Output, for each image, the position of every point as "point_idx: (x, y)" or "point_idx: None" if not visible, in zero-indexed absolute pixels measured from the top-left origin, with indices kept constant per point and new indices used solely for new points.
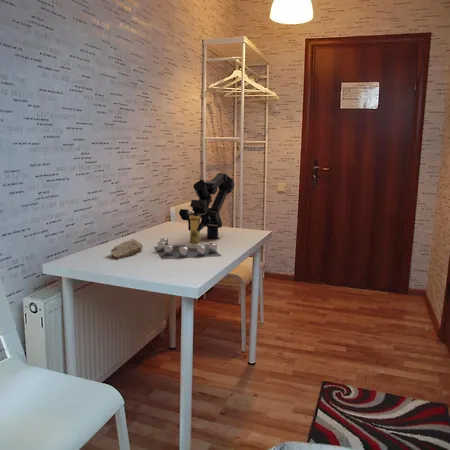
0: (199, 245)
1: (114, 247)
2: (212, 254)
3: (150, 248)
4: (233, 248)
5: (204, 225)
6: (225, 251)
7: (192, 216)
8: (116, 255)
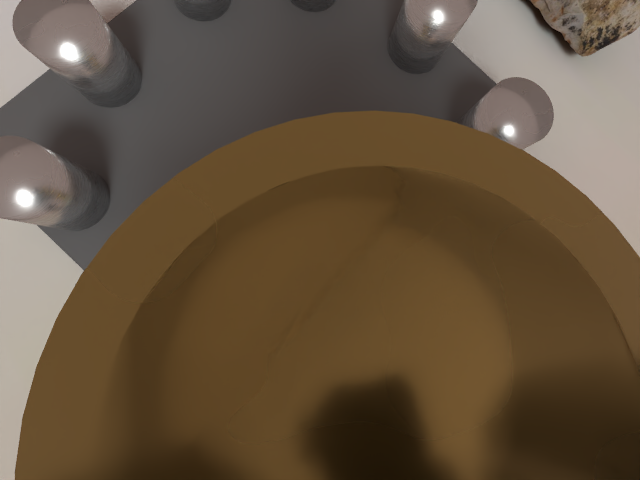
0: None
1: None
2: (50, 148)
3: None
4: (3, 469)
5: None
6: (21, 323)
7: (339, 119)
8: None
